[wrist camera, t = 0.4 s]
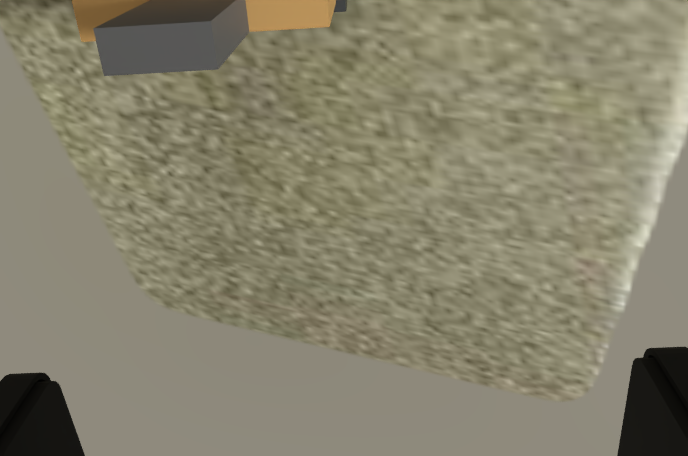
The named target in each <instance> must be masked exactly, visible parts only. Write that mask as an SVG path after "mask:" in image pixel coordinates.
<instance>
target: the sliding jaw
mask: <svg viewBox="0 0 688 456" xmlns="http://www.w3.org/2000/svg"><path fill="white" fill-rule="evenodd" d="M72 4H73V8H74V12H75V16H76V20H77V25H78V29H79V33H80V37H81V41H82V42H89V41H96V43H97V47H98V51H99V56H100V60H101V64H102V69H103V73H104V76H111V75H128V74H145V73H163V72H180V71H197V70H215V69H219V68H220V66H221V65H222V64H223V63H224V62H225V60H226V59H227V58H228V57H229V56H230V54H231V53H232V52H233V51H234V50H235V48H236V47H237V46H238V45H239V44H240V42H241V41H242V40H243V39H244V38H245V36H246V35H247V34H248V33H249V32H254V31H270V30H286V29H303V28H319V27H330V23H331V19H332V15H333V12H334V8H335V4H336V0H72Z"/></svg>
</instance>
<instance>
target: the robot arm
mask: <svg viewBox="0 0 688 456" xmlns="http://www.w3.org/2000/svg"><path fill="white" fill-rule="evenodd" d="M0 456H85V455H84V452H83V449H82V446H81V444H80V441H79V438H78V435H77V433H76V429H75V427H74V424H73V421H72V418H71V415H70V413H69V410H68V407H67V404H66V401H65V399H64V396H63V393H62V390H61V388H60V386H59V384H58V383H57V382H56V381H51V380H50V378H49V377H48V376H47V375H46V374H45V373H24V374H23V373H21V374H9V375H6V376H5V377H4V378H3V379H2V380H1V381H0ZM618 456H688V348H686V347H667V348H649V349H647V350H646V351H645V353H644V357H643V358H636V359H635V360H634V361H633V365H632V370H631V376H630V382H629V388H628V395H627V401H626V407H625V413H624V419H623V425H622V431H621V437H620V443H619V449H618Z"/></svg>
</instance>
